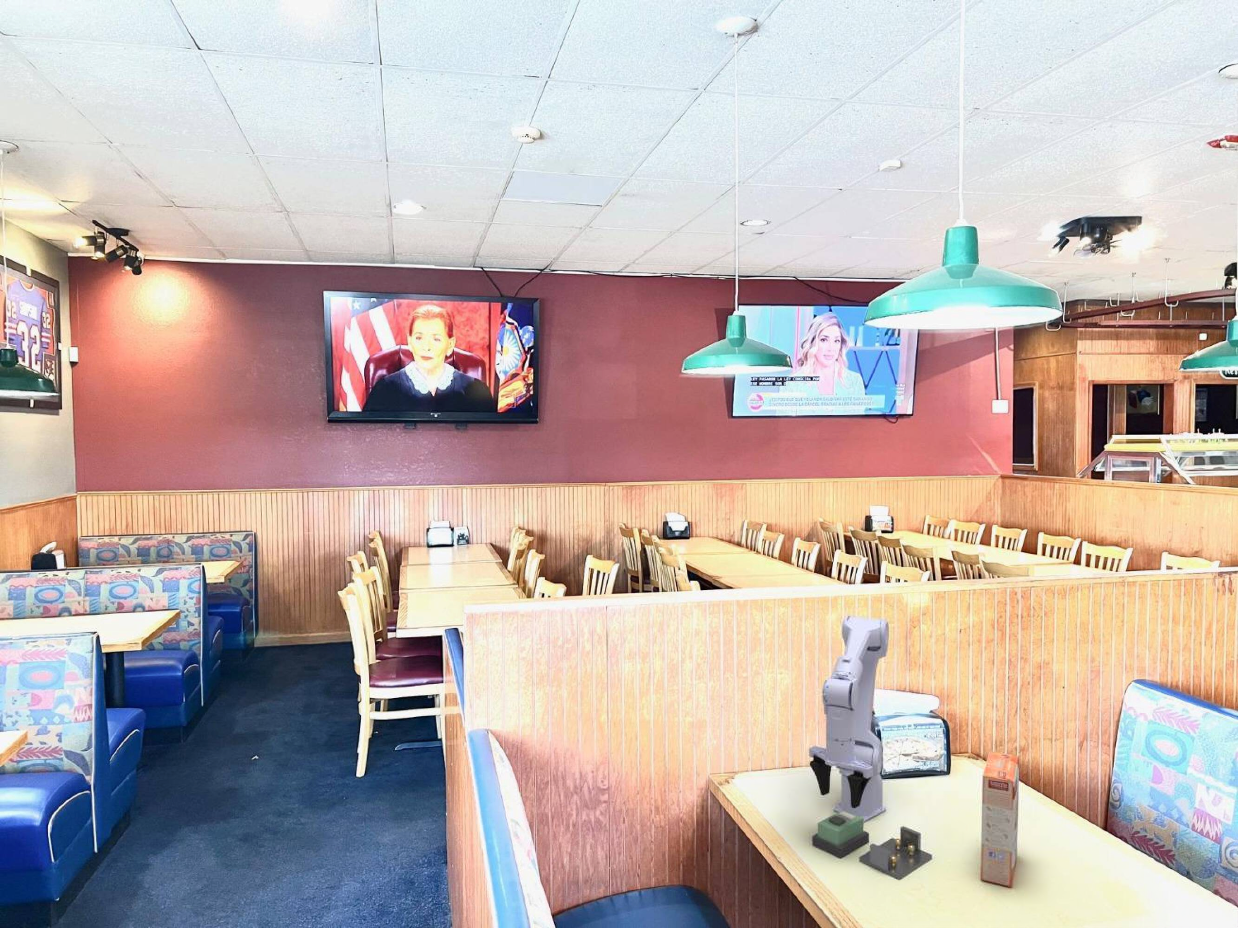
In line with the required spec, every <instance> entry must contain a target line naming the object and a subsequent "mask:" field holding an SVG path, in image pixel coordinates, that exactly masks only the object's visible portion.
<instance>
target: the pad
mask: <svg viewBox="0 0 1238 928" xmlns="http://www.w3.org/2000/svg"><path fill="white" fill-rule="evenodd" d="M811 839H812V843H811V844H812V847H813V846H814V847H815V848H818V849H820V850H821V851H823V852H826V853H828V854H830V855H832V856H834V857H836V858H839V859H842V858H844V857H846V856H848V855H849V854H851V853H853V852H855V851H857V850H858V849H860V848H862V847H864V846H865V845H867V844H869V843H870V832H868V831H865V830H863V833H861V834H859V835H857V836H855V837H854V838H852V839H850V840H848V841H847V842H845V843H843V844H841V845H839V846H836V845H834V844H832V843H830V842H828V841H826V840H823V839H821V838H819V837H818V832H817V833H815V834H813V835H812V838H811Z"/></svg>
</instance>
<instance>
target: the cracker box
mask: <svg viewBox="0 0 1238 928" xmlns="http://www.w3.org/2000/svg"><path fill="white" fill-rule="evenodd" d="M981 782H982V784H981V785H982V787H981V788H982V789H981V790H982V791H981V794H982V795H981V833H980V835H981V836H980V837H981V842H980V844H981V846H980V880H981V881H985V882H988V883H993V884H997V885H1001V886H1003V887H1004V886H1005V887H1008V888H1012V887H1013V882H1014V881H1013V879H1014V874H1015V867H1016V862H1017V855H1018V833H1019V832H1018V829H1019V828H1018V827H1019V794H1020V793H1019V791H1020V790H1019V789H1020V788H1019V786H1020V785H1019V784H1020V756H1018V755H1015V754H1010V753H1003V752H997V751H993V750H992V751H991V750H990V751H989V752H988V756H987V759H986V762H985V765H984V770H983V773H982V781H981Z"/></svg>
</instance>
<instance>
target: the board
mask: <svg viewBox="0 0 1238 928" xmlns="http://www.w3.org/2000/svg"><path fill="white" fill-rule="evenodd" d="M864 823H865V822H864V818H862V817H860V816H857V815H855V814H852V813H850V812H848V811H845V810H842V811H840V812H836V813H834V814H832V815H830V816H828V817H827V818H824V819H822V820H820V821H819V822H817V833H818V837H819V838H821V839H823V840H826V841H828V842H830V843H832V844H834V845H836V846H839V845H841V844H843V843H845V842H847V841H848V840H850V839H852V838H854V837H855V836H857V835H859V834H861V833H863V831H864V825H865V824H864Z"/></svg>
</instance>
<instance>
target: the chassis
mask: <svg viewBox="0 0 1238 928" xmlns="http://www.w3.org/2000/svg"><path fill="white" fill-rule="evenodd" d="M921 834H922V833H921V832H918V831H916V830H914V829H911V828H909V827H907V826H905V825H902V826H901V827H900V836H899V837H900V838H893V837H892V838H890V839H888V840H886V841H884V842H883V843H881V844H880V845H877V844H875V843H871V844H870V845H869V851H867V852H866V853H863V854H862V855H860V856H859V858H858V861H859V862H860V863H863V864H864V865H865V866H869V867H871V868H873V869H875V870H877V871H879V872H881V873H884V874H885V875H888V876H890V877H892V878H894V879H896V880H898V881H900V880H902V879H903V878H905V877H906V876H908V875H909V874H911V873H912V872H914V871H915V870H917V869H918V868H920V867H922V866H923V865H925V864H926V863H928V862H929V861H931V860H932V859H933V854H931V853H929V852H927V851H924V850H921V849H922V846H921V845H922V843H921V842H922V841H921V838H922V837H921V836H922V835H921Z"/></svg>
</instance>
